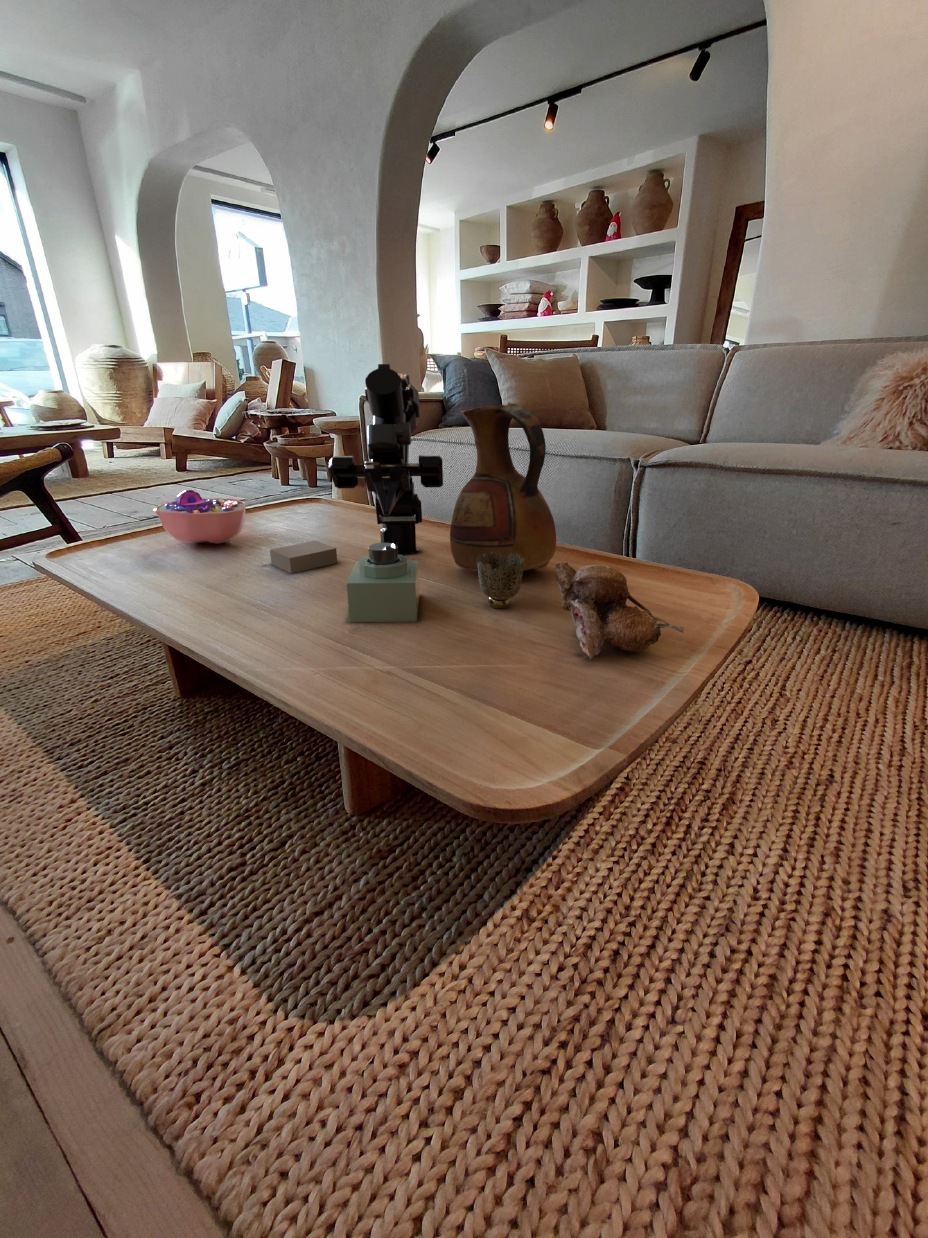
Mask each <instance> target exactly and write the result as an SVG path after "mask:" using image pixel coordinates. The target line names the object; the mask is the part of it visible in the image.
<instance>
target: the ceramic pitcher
mask: <svg viewBox="0 0 928 1238" xmlns="http://www.w3.org/2000/svg"><path fill="white" fill-rule="evenodd" d="M459 413H460V415H461V416H462V417H463V418H464V420H466V422H467V423H468V425H469V426H470V428H471V431H472V434H473V438H474V445H475V450H476V466H475V472H474V474H473V476H472V477H471V478H470V479H469V480H468V481H467V483H466V484H465V485H464V486H463V488H462V489H461V490H460V493H459V495H458V497H457V499H456V500H455V505H454V509H453V512H452V516H451V523H450V530H449V543H450V550H451V555H452V558H453V561H454V563H455V564H456V565H457V566H458V567H460V568H462V569H465V570H468V571H473V572H478V566H477V557H478V558H479V555H481V557H482V558H483V555H484V553H486V555H487V556H489V554H490V553H491V552H492V551H493V552H495V553H496V555H497V554H498V553H499V552H500V553H501V556H502V557H507V558H508V556H509V554H510V553H512V554H513V555H514V556H515V555H516V554H519V555H520V557H521V559H522V558H523V557H524V559H525V562H524V568H523V572H524V571H530V570H533V569H538V568H539V569H542V568H545V567H547V566H548V565H549V564H550V561H551V560H552V559H553V558H554V555H555V553H556V548H557V532H556V531H557V530H556V525H555V520H554V519H555V518H554V517H553V514H552V512H551V509H550V506H549V505H548V502H547V500H546V499H545V497H544V495H543V494H542V492H541V490H540V489H539V487H538V485H539V481H540V477H541V474H542V470H543V468H544V467H543V466H544V464H545V459H546V450H547V446H546V445H547V444H546V439H545V434H544V431H543V428H542V425H541V422H540V421H539V418H538V417H537V416H536V415H535V414H534V413H532V412H531V411H530V410H529V409H528V408H527V407H525V406H522V405H520V404H518V403H513V402H508V403H507V404H506V405H505V404H500V405H499V404H498V405H497V404H494V405H487V406H479V407H475V408H471V409H466V410H465V409H464V410H463V409H462V410H460V412H459ZM512 420H514V421H516V422H517V424H519V426H520V427H521V428H522V430H523V432H524V434H525V436H526V439H527V442H528V446H529V462H528V467H527V471H526V475H523V474H521V473H520V472H519V471H517V469H516V468H515V465H514V463H513V459H512V456H511V451H510V443H509V442H510V441H509V432H510V427H511V423H512Z"/></svg>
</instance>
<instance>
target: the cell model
mask: <svg viewBox="0 0 928 1238" xmlns="http://www.w3.org/2000/svg"><path fill="white" fill-rule="evenodd" d="M246 509H247V503H246V502H245V501H243V500H240V499H237V498H213V497H212V498H202V496H201V495H200V493H199V492H197V491H195V490H192V489H186V490H183V491H182V492H180V493H179V494H178V495H177V496H176V498H175V500H174V501H171V502H167V503H163V504H161V505H158V506H157V507H155V508H154V509H153V511H154V513H155V514H156V515H157V517H158V518H159V520H160V523H161V526H162V528H163V529H164V530H165V531H166V532H167V533H168V534H169V535H170V536H171V537H172V538H173V539H175V540H176V541H179V542H181V543H185V544H208V543H211V544H217V545H218V544H223V543H226V542H227V541H231V540H233V539H234V538H236V537H238V536H239V535H240V534H241V532H242V531H243V529H244V526H245V523H246V517H247V516H246Z"/></svg>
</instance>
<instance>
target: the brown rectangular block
mask: <svg viewBox="0 0 928 1238" xmlns="http://www.w3.org/2000/svg"><path fill="white" fill-rule="evenodd" d="M269 555H270V564H271V565H272V566H274V567H276V568H278V569H281V570H282V571H285V572H286V573H289V574H296V573H301V572H304V571H308V570H313V569H318V568H321V567H326V566H330V565H334V564H338V552H337V548H336V547H334V546H331V545H329V544H326V543H323V542H320V541H317V540H312V541H311V540H310V541H307V542H301V543H296V544H292V545H291V544H290V545H286V546H281V547H276V548H271V549H269Z"/></svg>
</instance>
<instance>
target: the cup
mask: <svg viewBox="0 0 928 1238" xmlns="http://www.w3.org/2000/svg"><path fill="white" fill-rule="evenodd" d="M524 562H525V559H524V557H523V558H522V559H521V557H520V555H519V554H516V555H515V556H514V555H513V554H512V553H510V554H509V556H508V558H507V557H502V556H501V553H500V552H499V553H498V554H497V555H496V553H495V552H493V551H492V552H491V553H490V554H489V556H487V555H486V553H484V555H483V558H482V557H481V555H479V558H478V557H477V566H478V571H477V573H478V574H477V576H478V583H479V587H480V590H481V592H482V593H483V595H485V597H487V598H488V599H487V602H488V605H489V606H490V607H491V608H494V609H501V610H503V609H507V608H508V607H510V605H511V604H512V599H513V597H515V596H516V595H517V594H518V592H519V590H520V588H521V584H522V580H523V573H524V571H523V568H524Z"/></svg>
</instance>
